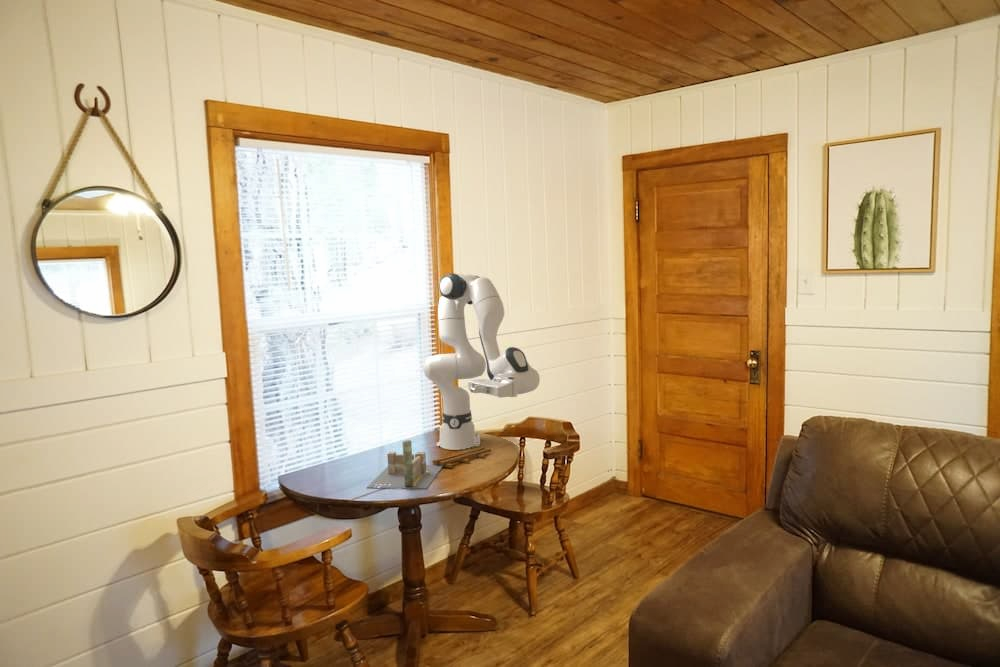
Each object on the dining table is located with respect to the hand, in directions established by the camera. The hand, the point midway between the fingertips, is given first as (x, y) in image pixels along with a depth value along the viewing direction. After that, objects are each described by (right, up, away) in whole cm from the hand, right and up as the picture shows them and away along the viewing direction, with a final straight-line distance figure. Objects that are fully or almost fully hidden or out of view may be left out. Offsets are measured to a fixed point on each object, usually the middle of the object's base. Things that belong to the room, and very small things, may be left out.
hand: (472, 390), depth 239 cm
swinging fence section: (-20, -31, -4) cm, 37 cm away
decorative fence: (-4, -28, +19) cm, 34 cm away
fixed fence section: (-26, -30, +3) cm, 40 cm away
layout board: (-23, -31, 0) cm, 39 cm away
